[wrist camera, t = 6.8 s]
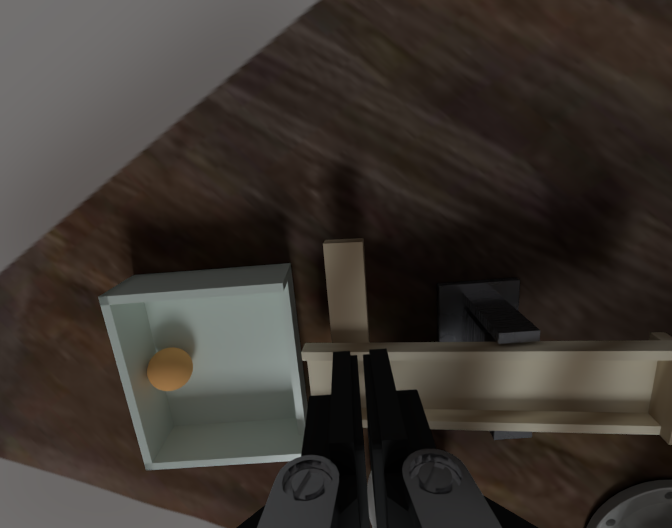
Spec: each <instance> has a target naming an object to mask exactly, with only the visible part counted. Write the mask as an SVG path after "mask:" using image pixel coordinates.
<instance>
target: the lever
mask: <svg viewBox="0 0 672 528" xmlns="http://www.w3.org/2000/svg"><path fill="white" fill-rule="evenodd" d="M323 250H324V261H325V272H326V283H327V294H328V305H329V316H330V327H331V338H332V343H305V345H304V347H303V349H302V352H301V354H302V361H307V363H308V372H309V381H310V390H311V396H313V395H330V394H331V383H332V362H333V352H338V351H350V354H351V355H357V358H358V371H359V385H360V398H361V411H362V425H363V427H365V428H368V425H367V410H366V395H365V381H364V366H363V355H364V354H369V349H385V348H387V352H388V357H389V361H390V365H391V370H392V374H393V378H394V383H395V387H396V391H397V390H414V389H416V390H417V391H418V393H419V396H420V399H421V402H422V405H423V409H424V412H425V415H426V418H427V421H428V424H429V427H430V429H445V430H485V431H525V432H565V433H605V434H645V435H660V436H661V437H662V438H663V439H664V440H665V441H666V442H667V443H668V444H669V445H672V337H671V336H670V335H668V334H667V333H665V332H650V337H649V340H645V341H535V342H521V343H507V344H498V343H497V342H383V343H370V338H369V321H368V305H367V288H366V271H365V255H364V238H355V239H334V240H325V241H324V243H323Z"/></svg>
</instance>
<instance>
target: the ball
mask: <svg viewBox="0 0 672 528" xmlns="http://www.w3.org/2000/svg"><path fill="white" fill-rule="evenodd" d="M192 372H193V362H192V359H191V357H190V356H189V354H188V353H187V352H185V351H184V350H182V349H180V348H175V347H170V348H165V349H162V350H160V351H159V352H157V353H156V354H155V355H154V356H153V357H152V358H151V360H150V361H149V364H148V367H147V376H148V379H149V381H150V383H151V384H152V385H153V386H154V387H155V388H157V389H159V390H162V391H173V390H176V389H179V388H181V387H182V386H184V385H185V384H186V383H187V382H188V380H189V379H190V377H191V375H192Z"/></svg>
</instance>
